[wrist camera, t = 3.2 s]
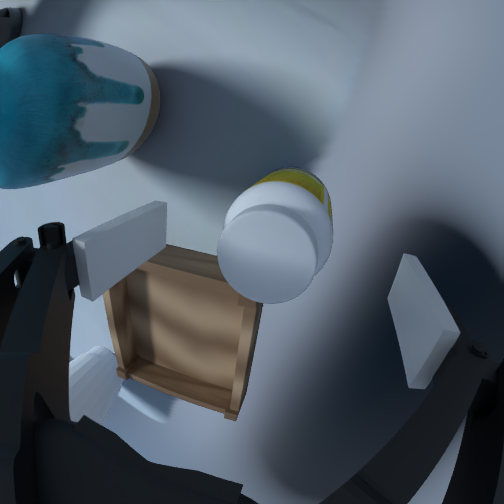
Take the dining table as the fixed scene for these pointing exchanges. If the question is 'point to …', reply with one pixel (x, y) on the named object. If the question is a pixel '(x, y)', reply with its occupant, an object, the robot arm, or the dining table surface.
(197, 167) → the dining table surface
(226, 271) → the pill bottle
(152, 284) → the crate
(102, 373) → the cup
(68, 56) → the vase
